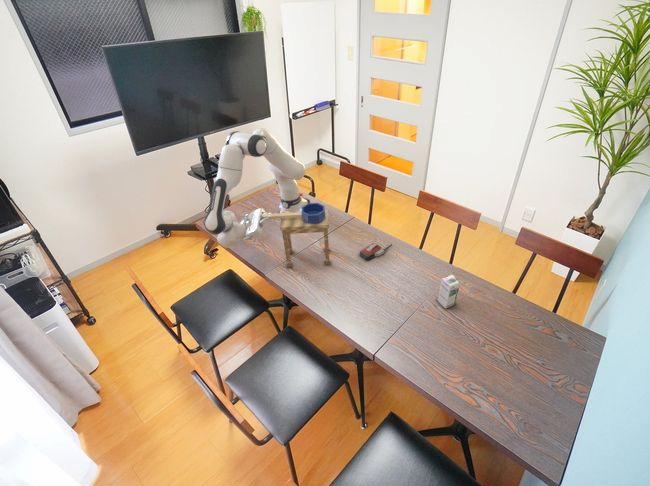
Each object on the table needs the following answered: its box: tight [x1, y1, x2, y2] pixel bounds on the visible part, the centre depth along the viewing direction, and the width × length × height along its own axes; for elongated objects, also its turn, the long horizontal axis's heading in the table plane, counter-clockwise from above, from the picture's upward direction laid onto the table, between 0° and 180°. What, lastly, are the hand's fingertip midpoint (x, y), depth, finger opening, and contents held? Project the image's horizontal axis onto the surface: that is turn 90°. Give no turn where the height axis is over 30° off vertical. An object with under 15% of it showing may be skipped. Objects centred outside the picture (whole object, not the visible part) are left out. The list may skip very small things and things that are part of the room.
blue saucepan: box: [262, 202, 326, 224], centre depth 160 cm, size 30×11×5 cm, turn 96°
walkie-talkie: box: [359, 242, 393, 261], centre depth 180 cm, size 9×4×20 cm
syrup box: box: [437, 274, 461, 309], centre depth 147 cm, size 6×6×14 cm
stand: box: [279, 208, 331, 268], centre depth 169 cm, size 23×14×26 cm, turn 96°
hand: (269, 215), depth 159 cm, fingers closed on blue saucepan, 2 cm apart
